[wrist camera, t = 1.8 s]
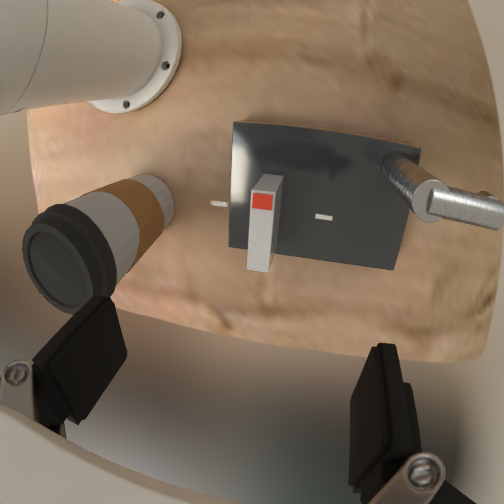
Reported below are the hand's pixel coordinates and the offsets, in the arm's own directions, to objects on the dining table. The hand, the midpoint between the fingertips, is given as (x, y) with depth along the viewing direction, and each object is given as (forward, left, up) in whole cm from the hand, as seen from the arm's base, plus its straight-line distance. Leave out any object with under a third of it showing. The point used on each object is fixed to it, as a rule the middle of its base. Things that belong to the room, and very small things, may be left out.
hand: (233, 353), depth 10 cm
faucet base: (+2, +2, -20) cm, 21 cm away
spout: (+8, +8, -17) cm, 20 cm away
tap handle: (-1, -1, -17) cm, 17 cm away
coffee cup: (-13, -7, -21) cm, 25 cm away
